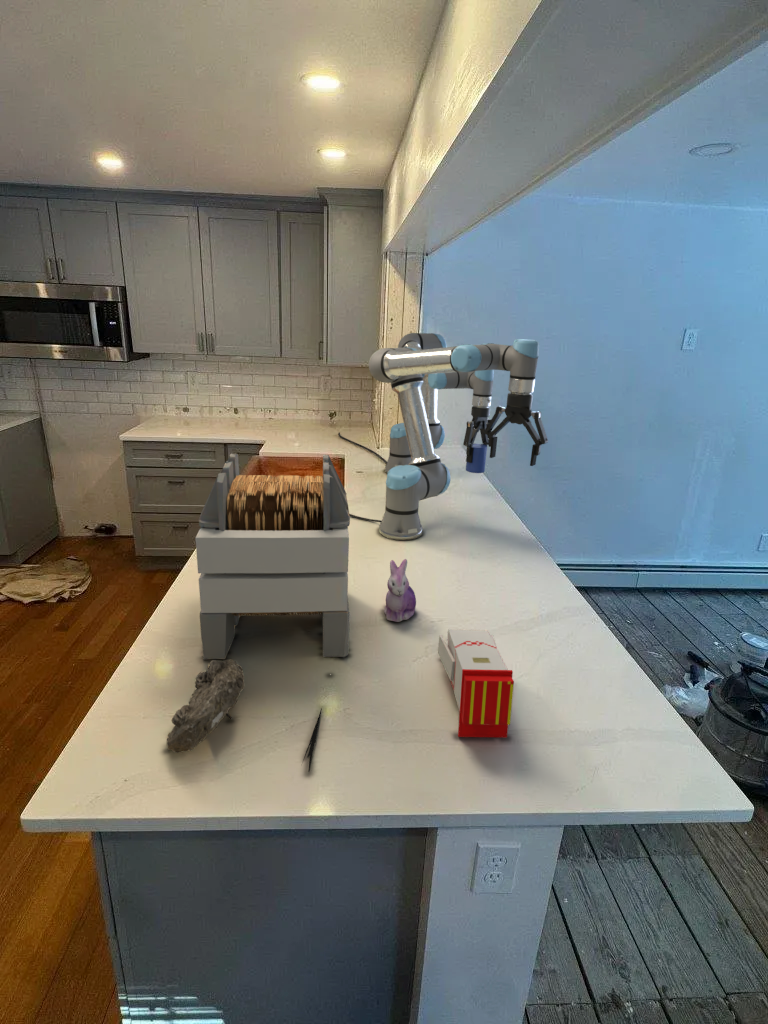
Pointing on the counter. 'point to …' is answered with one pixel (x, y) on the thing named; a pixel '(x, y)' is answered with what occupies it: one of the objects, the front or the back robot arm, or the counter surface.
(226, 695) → the fossil
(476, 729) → the toy
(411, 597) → the figurine
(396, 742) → the counter surface
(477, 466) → the cylinder
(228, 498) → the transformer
